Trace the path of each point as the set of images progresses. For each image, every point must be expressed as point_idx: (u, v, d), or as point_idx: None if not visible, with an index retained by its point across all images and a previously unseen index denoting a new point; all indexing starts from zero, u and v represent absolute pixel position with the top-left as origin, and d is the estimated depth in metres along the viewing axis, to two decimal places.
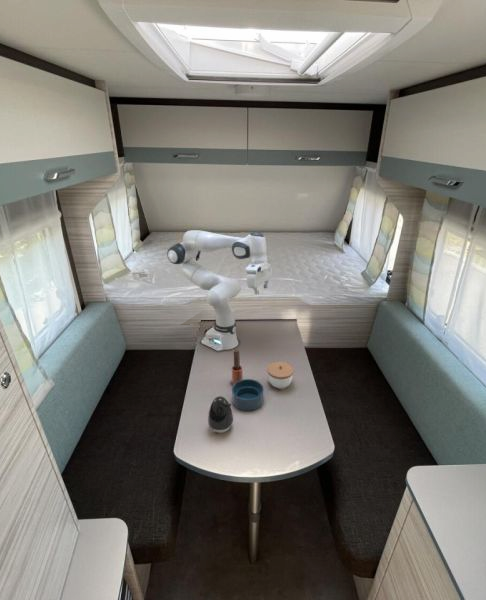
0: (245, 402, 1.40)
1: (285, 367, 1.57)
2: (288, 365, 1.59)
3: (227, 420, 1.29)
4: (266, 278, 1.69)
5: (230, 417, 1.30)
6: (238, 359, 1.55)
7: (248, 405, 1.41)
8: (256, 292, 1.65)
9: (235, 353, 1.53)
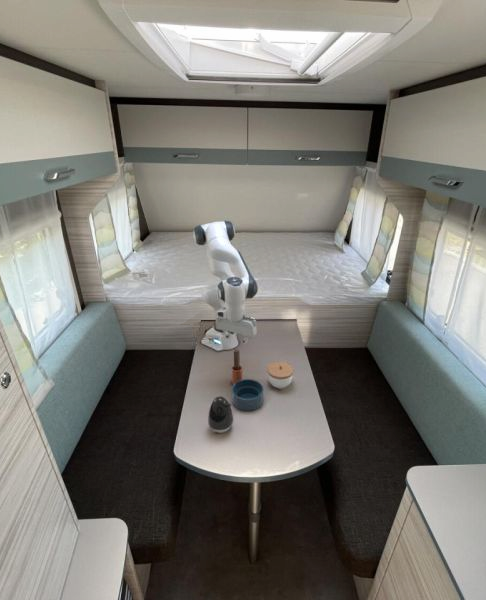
0: (245, 402, 1.40)
1: (285, 367, 1.57)
2: (288, 365, 1.59)
3: (227, 420, 1.29)
4: (239, 332, 1.46)
5: (230, 417, 1.30)
6: (238, 359, 1.55)
7: (248, 405, 1.41)
8: None
9: (235, 353, 1.53)
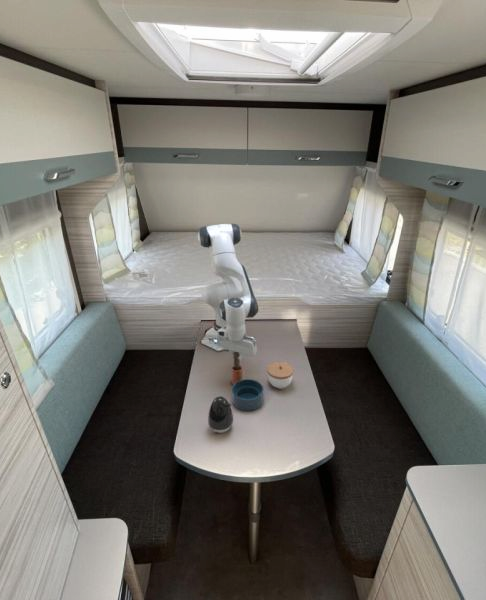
0: (245, 402, 1.40)
1: (285, 367, 1.57)
2: (288, 365, 1.59)
3: (227, 420, 1.29)
4: (240, 350, 1.50)
5: (230, 417, 1.30)
6: (238, 359, 1.55)
7: (248, 405, 1.41)
8: None
9: (235, 353, 1.53)
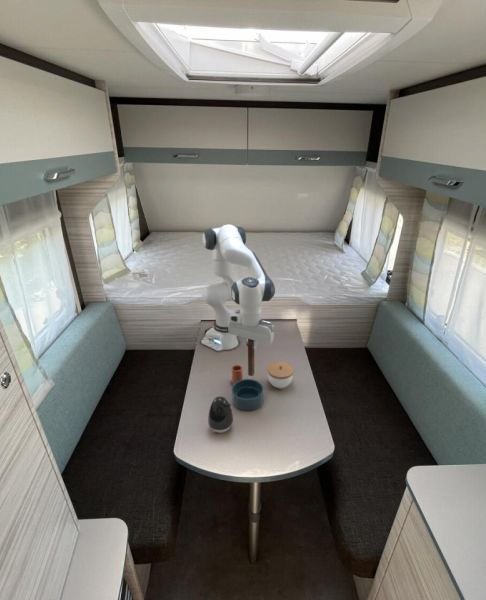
0: (245, 402, 1.40)
1: (285, 367, 1.57)
2: (288, 365, 1.59)
3: (227, 420, 1.29)
4: (255, 338, 1.32)
5: (230, 417, 1.30)
6: None
7: (248, 405, 1.41)
8: None
9: (249, 341, 1.35)
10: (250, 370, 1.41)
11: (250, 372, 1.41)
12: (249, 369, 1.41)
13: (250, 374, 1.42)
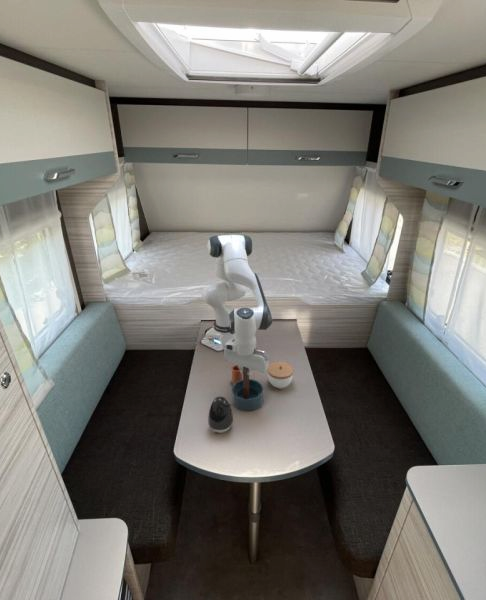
0: (245, 402, 1.40)
1: (285, 367, 1.57)
2: (288, 365, 1.59)
3: (227, 420, 1.29)
4: (250, 366, 1.36)
5: (230, 417, 1.30)
6: (247, 375, 1.40)
7: (248, 405, 1.41)
8: None
9: (244, 368, 1.39)
10: (245, 396, 1.44)
11: (245, 398, 1.45)
12: (244, 395, 1.44)
13: None
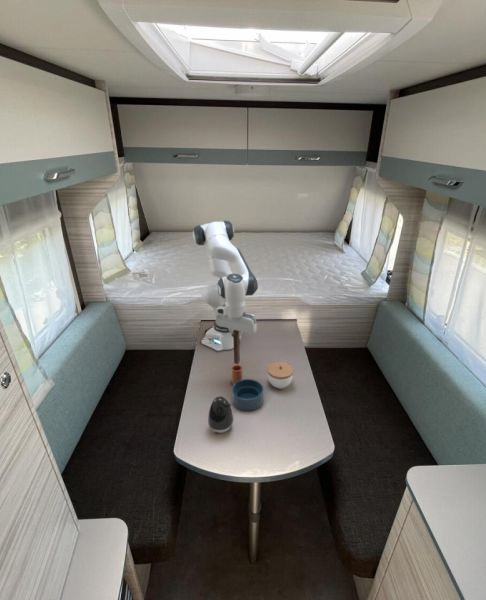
0: (245, 402, 1.40)
1: (285, 367, 1.57)
2: (288, 365, 1.59)
3: (227, 420, 1.29)
4: (239, 329, 1.46)
5: (230, 417, 1.30)
6: None
7: (248, 405, 1.41)
8: None
9: (235, 332, 1.49)
10: (236, 358, 1.54)
11: (236, 360, 1.55)
12: (235, 357, 1.54)
13: (236, 362, 1.55)
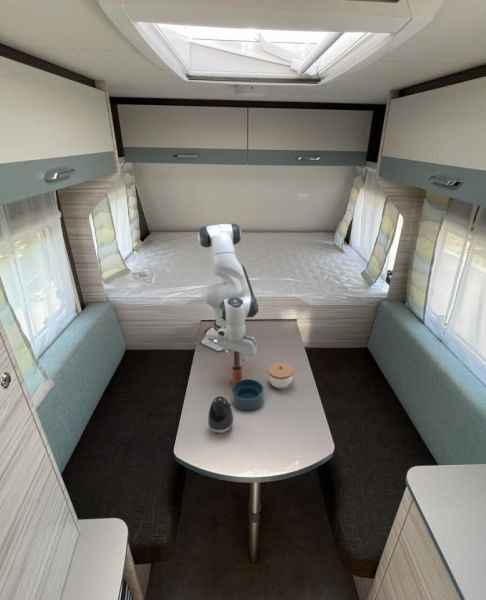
0: (245, 402, 1.40)
1: (285, 367, 1.57)
2: (288, 365, 1.59)
3: (227, 420, 1.29)
4: (240, 350, 1.50)
5: (230, 417, 1.30)
6: (238, 359, 1.55)
7: (248, 405, 1.41)
8: None
9: (235, 353, 1.53)
10: None
11: None
12: None
13: None
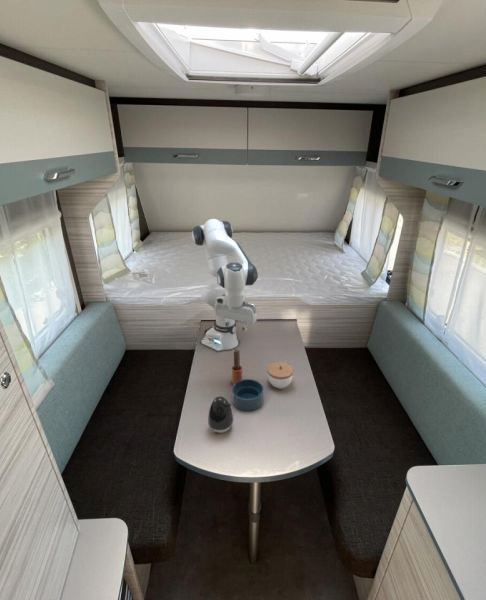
0: (245, 402, 1.40)
1: (285, 367, 1.57)
2: (288, 365, 1.59)
3: (227, 420, 1.29)
4: (239, 319, 1.44)
5: (230, 417, 1.30)
6: (238, 359, 1.55)
7: (248, 405, 1.41)
8: None
9: (235, 353, 1.53)
10: None
11: None
12: None
13: None
